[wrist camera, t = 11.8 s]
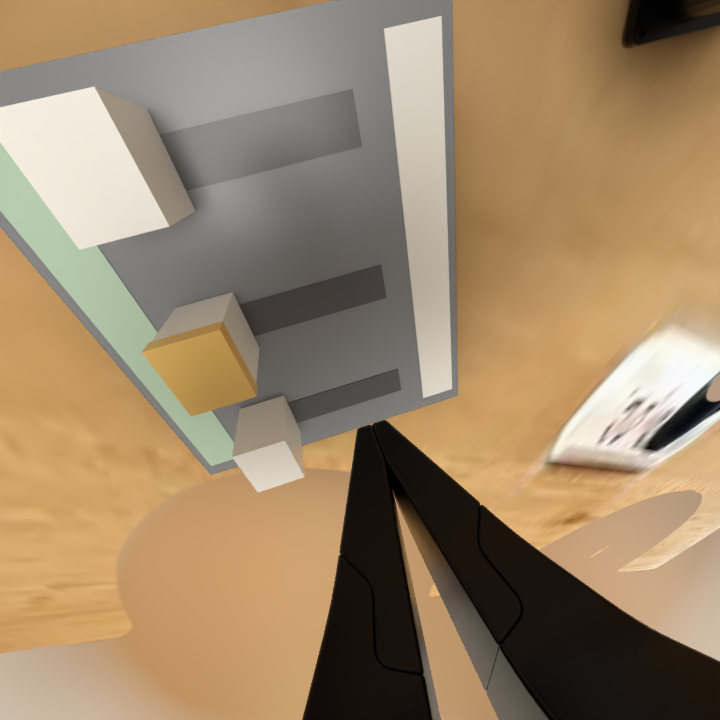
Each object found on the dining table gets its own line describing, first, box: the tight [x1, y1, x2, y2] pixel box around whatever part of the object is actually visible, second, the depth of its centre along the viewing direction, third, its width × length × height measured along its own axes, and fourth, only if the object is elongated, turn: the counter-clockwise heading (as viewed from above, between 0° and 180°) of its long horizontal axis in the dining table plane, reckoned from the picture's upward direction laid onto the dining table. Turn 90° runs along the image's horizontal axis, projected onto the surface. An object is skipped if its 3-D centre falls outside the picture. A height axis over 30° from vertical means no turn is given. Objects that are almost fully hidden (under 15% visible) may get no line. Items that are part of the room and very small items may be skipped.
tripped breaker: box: [142, 292, 260, 417], centre depth 15 cm, size 3×4×4 cm
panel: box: [0, 0, 458, 475], centre depth 18 cm, size 20×22×2 cm
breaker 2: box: [232, 395, 305, 492], centre depth 19 cm, size 3×4×4 cm
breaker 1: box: [0, 87, 195, 250], centre depth 11 cm, size 3×4×4 cm
